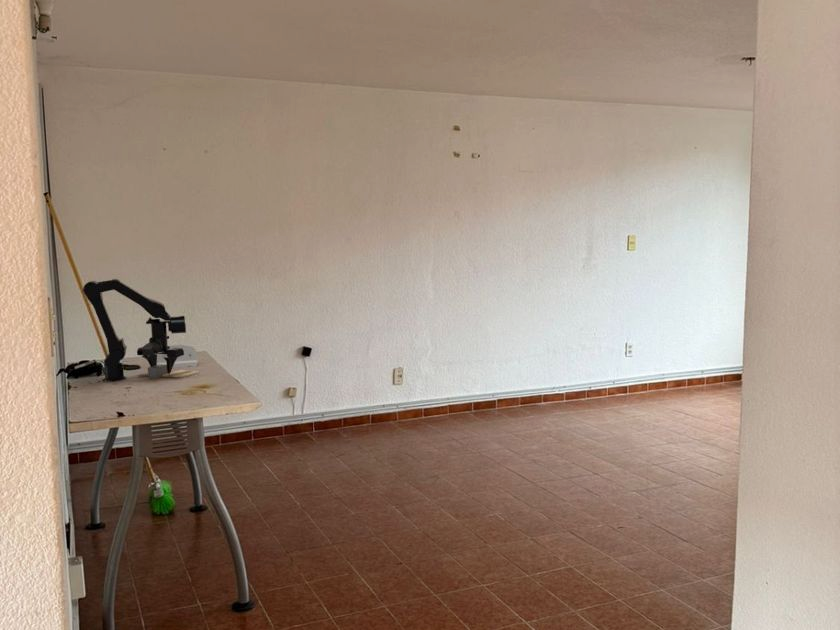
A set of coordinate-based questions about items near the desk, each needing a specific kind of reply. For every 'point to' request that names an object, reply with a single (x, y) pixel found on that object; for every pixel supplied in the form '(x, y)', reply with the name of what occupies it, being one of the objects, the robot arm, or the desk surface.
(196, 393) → the desk surface
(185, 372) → the coaster
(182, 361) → the hinge
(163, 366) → the plug
